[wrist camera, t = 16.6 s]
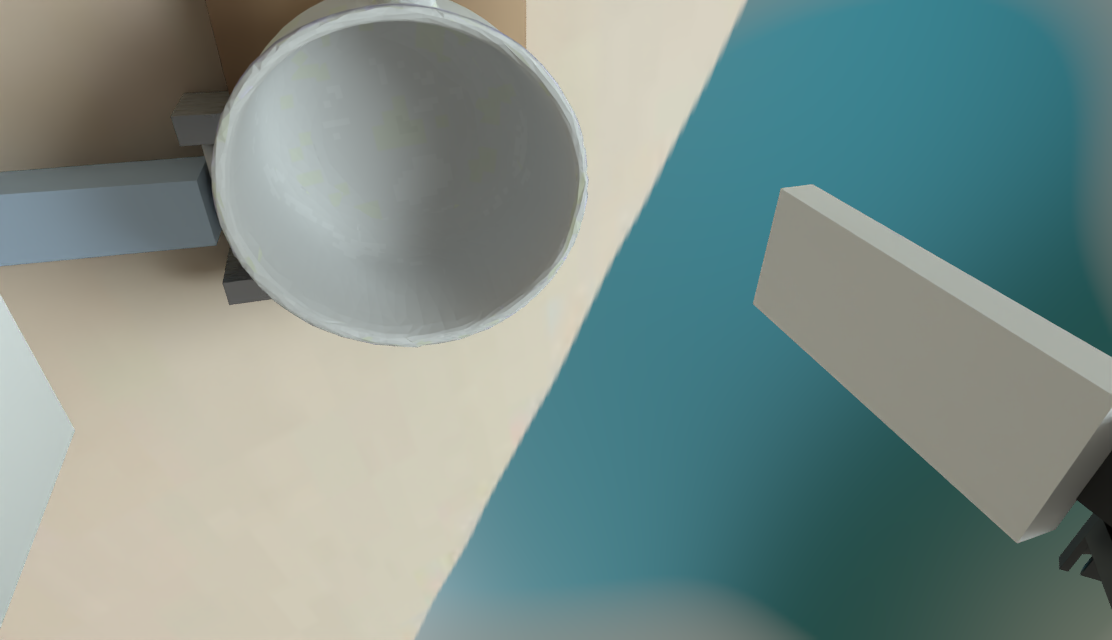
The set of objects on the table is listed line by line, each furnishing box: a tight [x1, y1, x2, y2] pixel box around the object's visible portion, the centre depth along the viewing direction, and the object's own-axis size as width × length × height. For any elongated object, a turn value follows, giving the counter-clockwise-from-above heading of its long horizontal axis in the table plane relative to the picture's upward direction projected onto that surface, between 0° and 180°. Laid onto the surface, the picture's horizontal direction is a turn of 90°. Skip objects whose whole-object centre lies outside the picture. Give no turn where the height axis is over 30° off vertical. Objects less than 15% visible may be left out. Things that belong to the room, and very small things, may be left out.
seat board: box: [205, 0, 526, 95], centre depth 25 cm, size 11×11×1 cm
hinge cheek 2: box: [223, 248, 272, 305], centre depth 26 cm, size 2×1×3 cm, turn 88°
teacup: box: [211, 0, 589, 347], centre depth 21 cm, size 14×11×8 cm
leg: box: [0, 144, 236, 266], centre depth 23 cm, size 12×5×3 cm, turn 89°
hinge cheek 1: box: [171, 91, 230, 146], centre depth 23 cm, size 2×1×3 cm, turn 89°
